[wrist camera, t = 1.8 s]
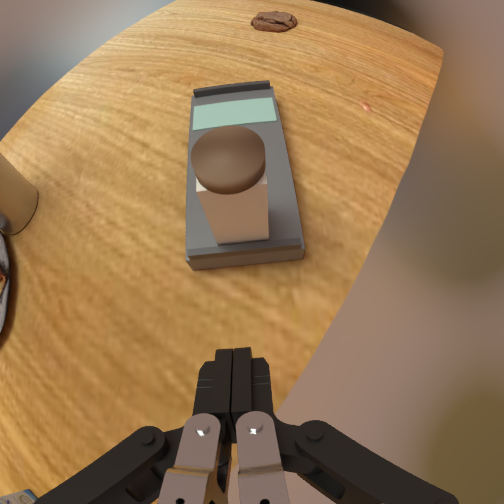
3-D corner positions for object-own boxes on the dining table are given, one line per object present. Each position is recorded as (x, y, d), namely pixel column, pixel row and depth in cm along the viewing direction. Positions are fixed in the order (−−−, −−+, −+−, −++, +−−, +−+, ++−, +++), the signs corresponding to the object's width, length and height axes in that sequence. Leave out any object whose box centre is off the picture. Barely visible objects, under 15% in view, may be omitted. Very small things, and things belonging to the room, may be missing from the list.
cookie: (306, 26, 54) (306, 15, 51) (272, 37, 52) (271, 26, 49) (276, 14, 57) (275, 4, 54) (242, 25, 55) (241, 15, 52)
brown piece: (270, 246, 30) (269, 176, 19) (217, 252, 30) (189, 186, 19) (265, 201, 32) (260, 122, 21) (216, 206, 32) (191, 130, 21)
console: (302, 259, 33) (306, 243, 29) (192, 270, 33) (182, 256, 29) (272, 100, 42) (272, 80, 39) (195, 109, 43) (190, 90, 39)
